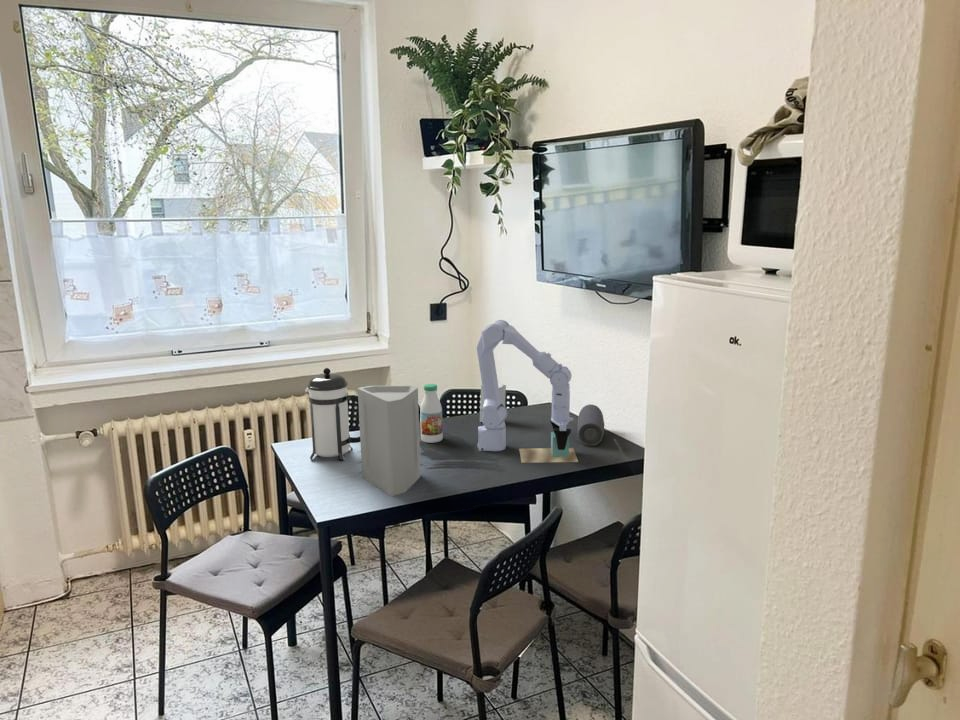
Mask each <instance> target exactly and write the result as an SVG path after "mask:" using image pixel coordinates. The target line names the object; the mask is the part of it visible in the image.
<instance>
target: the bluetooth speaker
mask: <svg viewBox="0 0 960 720" xmlns="http://www.w3.org/2000/svg"><path fill="white" fill-rule="evenodd" d="M603 414H604V413H603V412H602V410H601V409H600V408H599V406H597V405H595V404H586V405H584V406H583V407H582V408H581V409H580V412H579V413H578V417H577V425H576V426H577V428H576V429H577V436H578V439H579V441H580V443H582V444H583V445H584V446H592V447H593V446H594V447H595V446H598V445H599V444H600V443H601V442H602V440H603V438H604V434H605V419H604V415H603Z"/></svg>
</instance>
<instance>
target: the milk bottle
mask: <svg viewBox="0 0 960 720" xmlns="http://www.w3.org/2000/svg"><path fill="white" fill-rule="evenodd" d="M423 392H424V395H423V399H422V401H421V404H420V407H419V408H420V409H419V411H420V413H419V423H420V439H421V441H422V442H424V443H427V444H428V443H430V444H435V443H439V442H441V441H443V438H444V432H443V429H444V428H443V427H444V425H443V407H442V404H441V402H440V399H439V397H438V385H437V384H436V383H427V384H424V386H423Z"/></svg>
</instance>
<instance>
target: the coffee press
mask: <svg viewBox="0 0 960 720" xmlns="http://www.w3.org/2000/svg"><path fill="white" fill-rule="evenodd" d="M322 372H323V373H322V374H318V375H316V376H313V377H312V378H311V379H310V380H309V382H308V383H307V387H306V388H305V390H304V392H305V393H308V394H309V395H308V402H309V407H310V408H309V411H310V424H311V438H312V442H311V443H312V453H311V455H310V457H309V459H310V460H311V461H312V462H315V461H316V460H317V459H318V458H319V457H323V458H334V457H336V458H337V460H338V462H339V463H340V462H345V457H344V455H345V454H346V453H348V452H349V453H351V452H353V447H352V446H351V444H357V443H360V436H357V437H354V436H353V437H351V435H350V427H349V426H350V425H349V422H350V421H349V407H348V405H349V404H348V401H352V402H356V403H357V404H358V405H359V403H358V395H355V394H352V395H349V393H348V384H349V383H348V381H347V380H346V378H345V377H344V376H343V375H341V374H337V373H331V370H330V368H328V367H325V368H323V371H322Z"/></svg>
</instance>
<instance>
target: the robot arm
mask: <svg viewBox="0 0 960 720" xmlns="http://www.w3.org/2000/svg"><path fill="white" fill-rule="evenodd" d="M501 341H502V343H501V344H502V345H512V346H513V347H516V348H517V349H518V350H519V351H521V352H522V353H523V354H524V355H526V356H527V357H528V358H530V359H531V361H532V366H534V368H536V369H537V370H538V371H539V372H540V373H541V374H543V375H544V376H545V377H546V378H547V379H549V382H550V384H551V386H552V387H551V388H552V389H551V417H550V420H549V422H550V425H551V426H552V432H554V433H555V435H556V440H557V447H558V450H565V447H566V443H567V439H568V436H569V437H570V434H571V432H572V429H571V428H567V425H568V424H569V423H570V422H573V421H574V418H573V417H572V416H571V417H570V410H571V409H570V403H571V402H570V401H571V400H570V399H571V398H570V397H571V394H570V393H571V391H570V389H571V386H570V381H571V379H572V372H571V370H570V369H569V367H568V366H564V365H563V364H562V363H559V362H557V361H556V359H554V358H552V354H551V353H550V352H546V351H539V350H538V349H537V348H536V347H535V346H533V345H532V344H531V343H530V342H529V340H527V339H526V337H524V336H523V335H522V334H521V333H520V332H519V331H518V330H517V329H516V328H515V326H513V325H510V323H509V322H507V321H506V320H505V319H498V320H495V322H493V323H492V324H488V325H487V326H486V327H485V328H484V329H483V330H482V331H481V335H480V338H479V341H478V342H477V346H476V353H477V360H478V367H479V373H480V379H481V385H482V386H483V393H484V399H485V400H484V405H483V415H482V422H483V423H482V424H483V425H480V426H478V427H477V429H478V430H477V431H478V433H477V434H478V436H477V437H478V442H477V449H478V451H479V452H480V451H482V452H501V451H503V450H505V449H506V446H507V443H506V441H507V440H506V438H507V437H506V436H507V435H506V432H507V431H506V429H507V428H506V425H507V424H506V423H505V422H506V421H504V420H506V419H507V417H508V409H507V407H506V405H505V406H504V404H503V400H502V398H501V397H500V393H499V387H498V384H499V382H498V375H497V367H496V362H495V355H494V350H495V349H496V347H497V346H498V345H499V344H500V342H501Z"/></svg>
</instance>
